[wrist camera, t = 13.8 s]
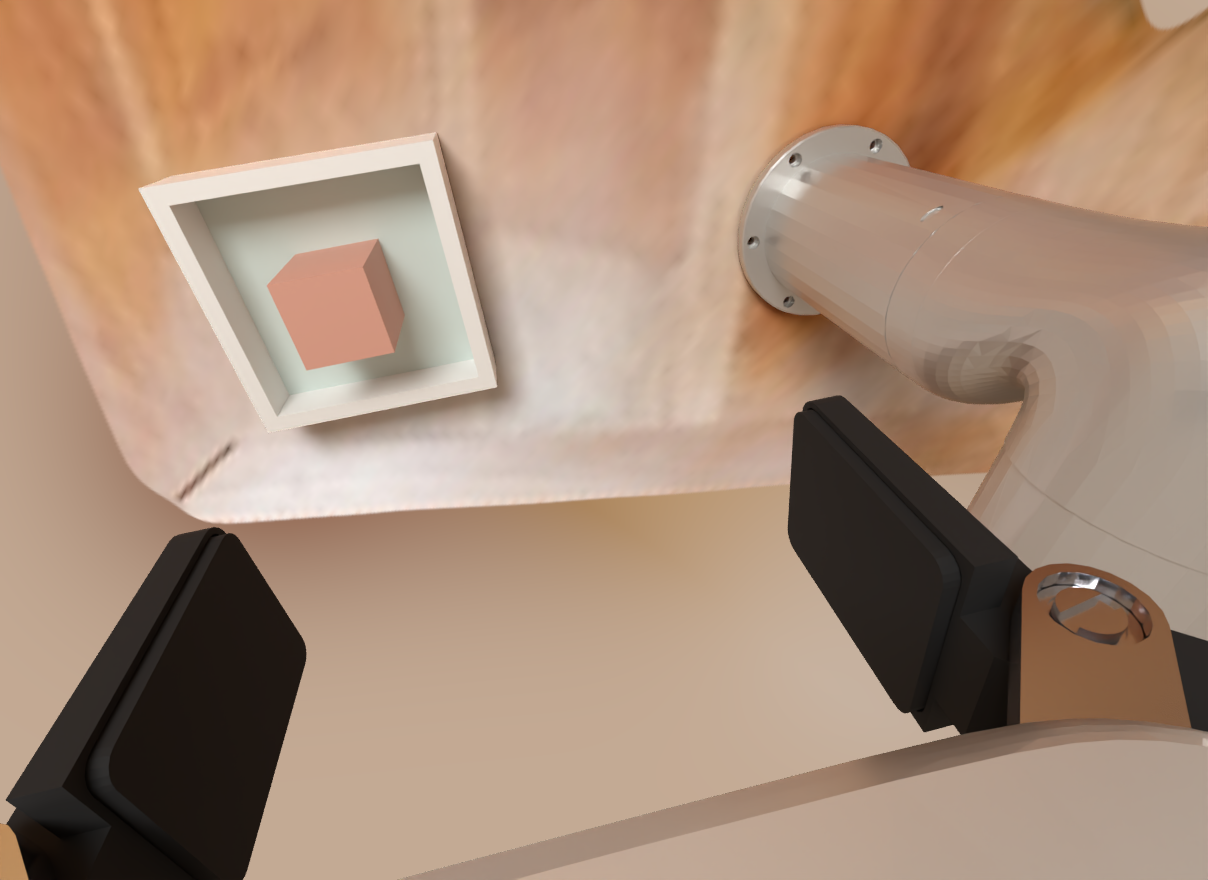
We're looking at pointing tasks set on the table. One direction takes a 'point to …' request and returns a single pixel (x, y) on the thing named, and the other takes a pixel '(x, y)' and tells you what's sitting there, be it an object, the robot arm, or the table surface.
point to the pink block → (339, 304)
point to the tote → (318, 221)
